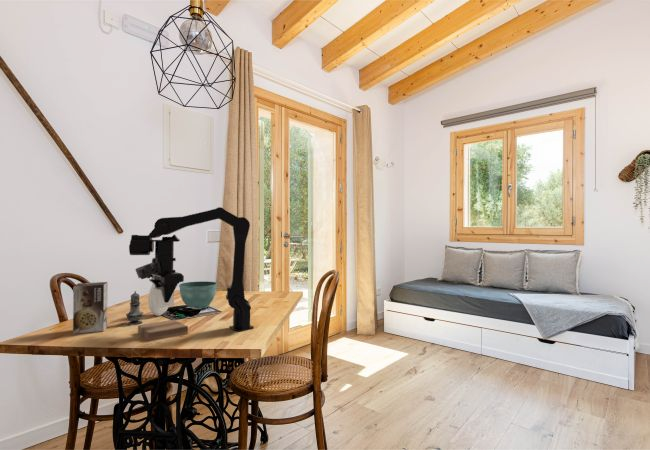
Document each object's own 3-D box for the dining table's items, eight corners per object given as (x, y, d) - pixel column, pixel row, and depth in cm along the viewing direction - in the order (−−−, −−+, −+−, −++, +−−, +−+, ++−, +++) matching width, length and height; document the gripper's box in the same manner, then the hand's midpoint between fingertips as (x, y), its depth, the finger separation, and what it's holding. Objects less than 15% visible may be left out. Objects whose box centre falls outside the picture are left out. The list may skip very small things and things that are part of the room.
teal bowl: (173, 307, 161) (173, 283, 161) (207, 302, 171) (208, 280, 171) (186, 313, 149) (187, 287, 149) (222, 308, 159) (223, 284, 159)
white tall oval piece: (155, 318, 140) (156, 272, 140) (143, 315, 144) (144, 271, 144) (173, 314, 147) (174, 270, 147) (161, 312, 151) (162, 269, 151)
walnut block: (187, 335, 120) (187, 326, 120) (149, 342, 112) (150, 333, 112) (173, 328, 129) (174, 319, 129) (137, 334, 120) (138, 325, 121)
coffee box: (107, 326, 127) (108, 281, 128) (103, 331, 121) (104, 284, 122) (77, 329, 124) (78, 282, 124) (71, 334, 118) (72, 285, 118)
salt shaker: (135, 325, 129) (136, 292, 129) (121, 324, 130) (122, 291, 130) (147, 321, 135) (147, 290, 135) (133, 320, 136) (134, 289, 136)
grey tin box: (173, 305, 120) (174, 288, 120) (158, 308, 117) (158, 289, 117) (168, 303, 124) (168, 286, 124) (153, 305, 120) (153, 287, 121)
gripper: (129, 254, 122) (129, 300, 122) (148, 257, 108) (147, 309, 108) (163, 253, 130) (162, 296, 129) (184, 256, 116) (184, 304, 116)
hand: (163, 301), depth 120 cm, fingers closed on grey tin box, 5 cm apart
